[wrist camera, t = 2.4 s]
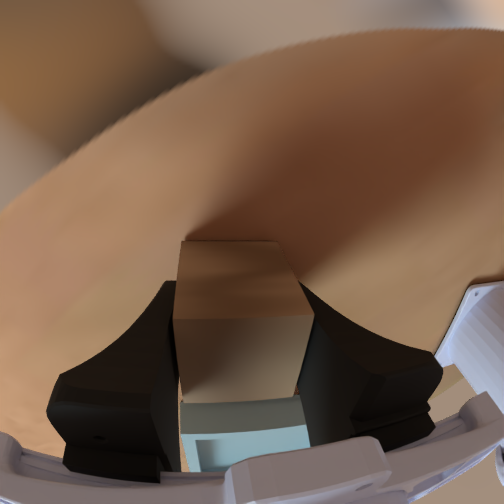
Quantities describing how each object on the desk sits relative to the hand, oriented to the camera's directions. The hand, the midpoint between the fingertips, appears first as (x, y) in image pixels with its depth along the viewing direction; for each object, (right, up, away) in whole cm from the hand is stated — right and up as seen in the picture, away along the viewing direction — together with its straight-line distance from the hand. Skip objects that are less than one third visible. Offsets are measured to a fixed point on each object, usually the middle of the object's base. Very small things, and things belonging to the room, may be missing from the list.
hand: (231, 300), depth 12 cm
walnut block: (0, +1, +1) cm, 1 cm away
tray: (+2, -13, +8) cm, 15 cm away
